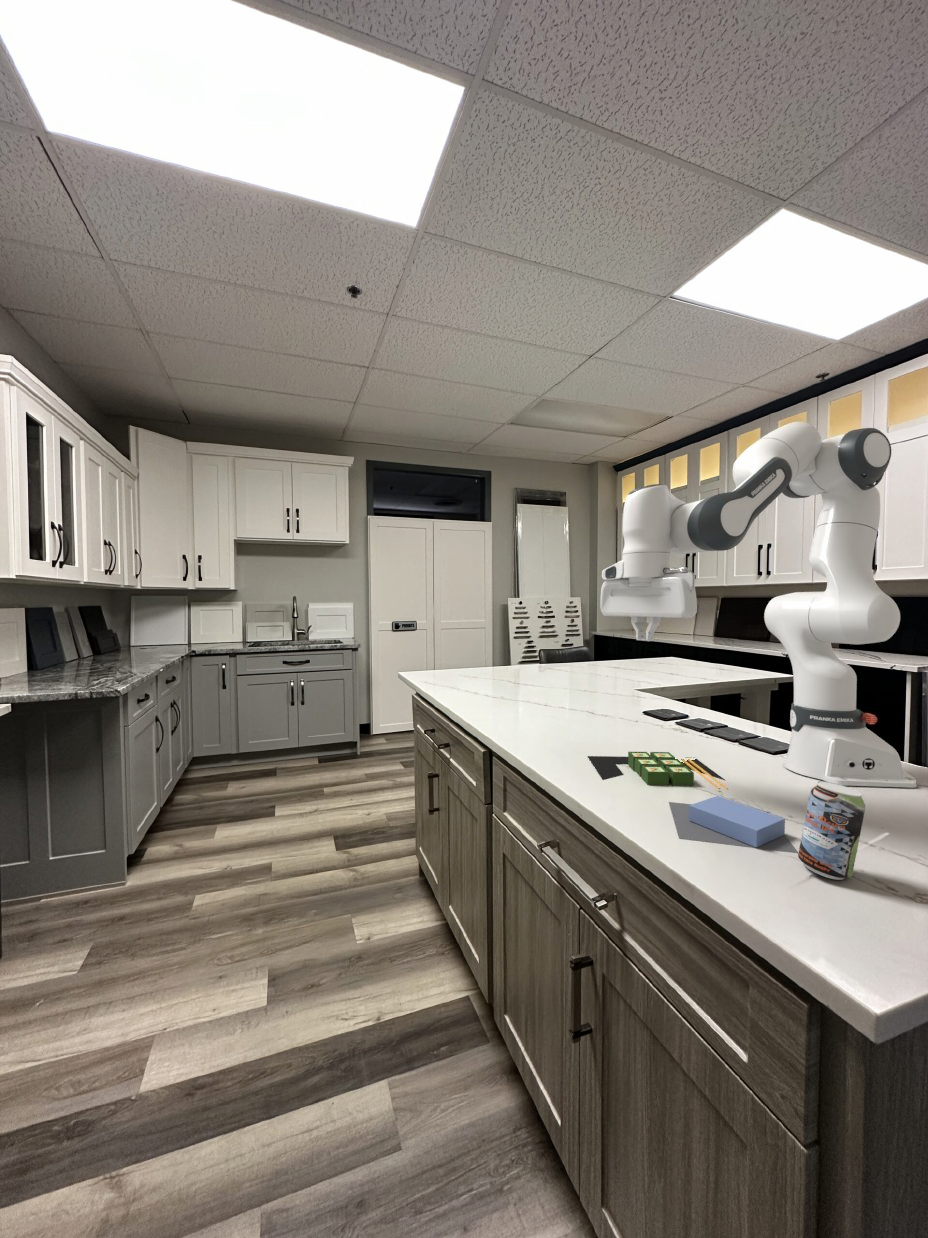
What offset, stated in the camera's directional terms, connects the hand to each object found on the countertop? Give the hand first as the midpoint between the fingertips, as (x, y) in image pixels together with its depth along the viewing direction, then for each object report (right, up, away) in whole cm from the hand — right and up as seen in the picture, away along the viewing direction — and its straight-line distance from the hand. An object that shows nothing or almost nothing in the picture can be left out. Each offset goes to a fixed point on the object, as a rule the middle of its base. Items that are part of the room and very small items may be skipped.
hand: (645, 640), depth 99 cm
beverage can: (+14, -30, -31) cm, 45 cm away
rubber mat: (+7, -30, -16) cm, 35 cm away
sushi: (+6, -30, +8) cm, 32 cm away
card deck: (+5, -28, -13) cm, 31 cm away
